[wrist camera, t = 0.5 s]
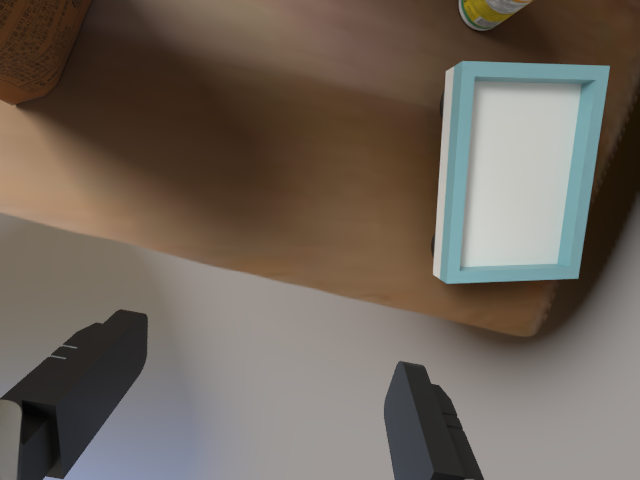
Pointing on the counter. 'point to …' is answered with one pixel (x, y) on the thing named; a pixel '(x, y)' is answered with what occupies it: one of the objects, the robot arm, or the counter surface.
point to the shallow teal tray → (516, 170)
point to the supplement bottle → (488, 12)
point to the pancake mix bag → (36, 45)
